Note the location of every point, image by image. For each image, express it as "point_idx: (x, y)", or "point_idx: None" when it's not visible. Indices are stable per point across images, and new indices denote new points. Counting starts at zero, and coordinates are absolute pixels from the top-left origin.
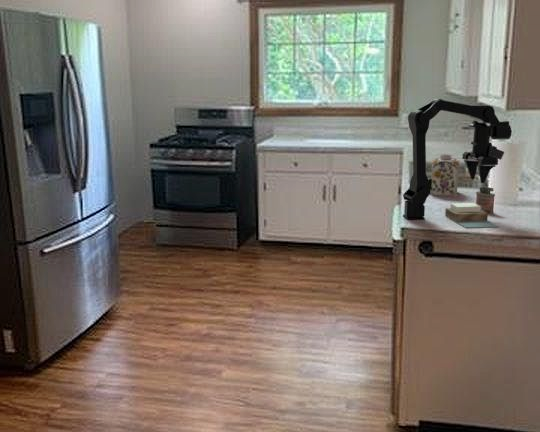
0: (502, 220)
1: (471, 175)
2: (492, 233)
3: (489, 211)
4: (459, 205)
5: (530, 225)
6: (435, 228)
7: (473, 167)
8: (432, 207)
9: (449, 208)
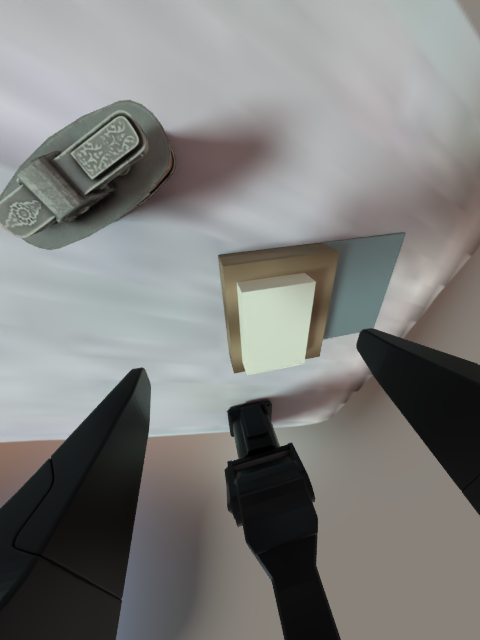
0: (322, 164)
1: (145, 420)
2: (442, 276)
3: (173, 169)
4: (281, 354)
5: (447, 50)
6: (347, 382)
7: (97, 537)
8: (79, 376)
9: (234, 363)
